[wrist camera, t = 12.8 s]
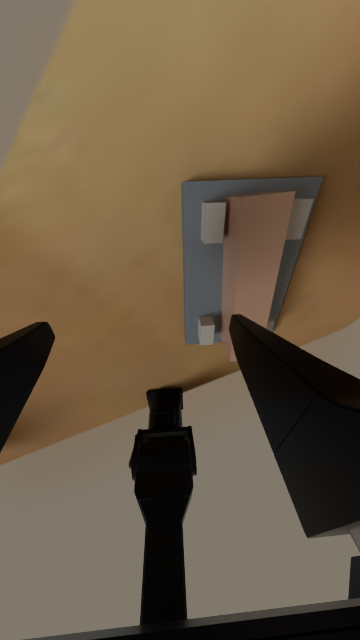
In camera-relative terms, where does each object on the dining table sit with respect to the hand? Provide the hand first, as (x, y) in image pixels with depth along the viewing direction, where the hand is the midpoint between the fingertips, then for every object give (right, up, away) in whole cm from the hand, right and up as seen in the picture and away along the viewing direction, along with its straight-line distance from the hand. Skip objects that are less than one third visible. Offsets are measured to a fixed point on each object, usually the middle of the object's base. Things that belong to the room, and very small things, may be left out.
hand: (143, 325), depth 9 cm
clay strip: (+8, +5, +11) cm, 15 cm away
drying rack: (+8, +5, +12) cm, 16 cm away
